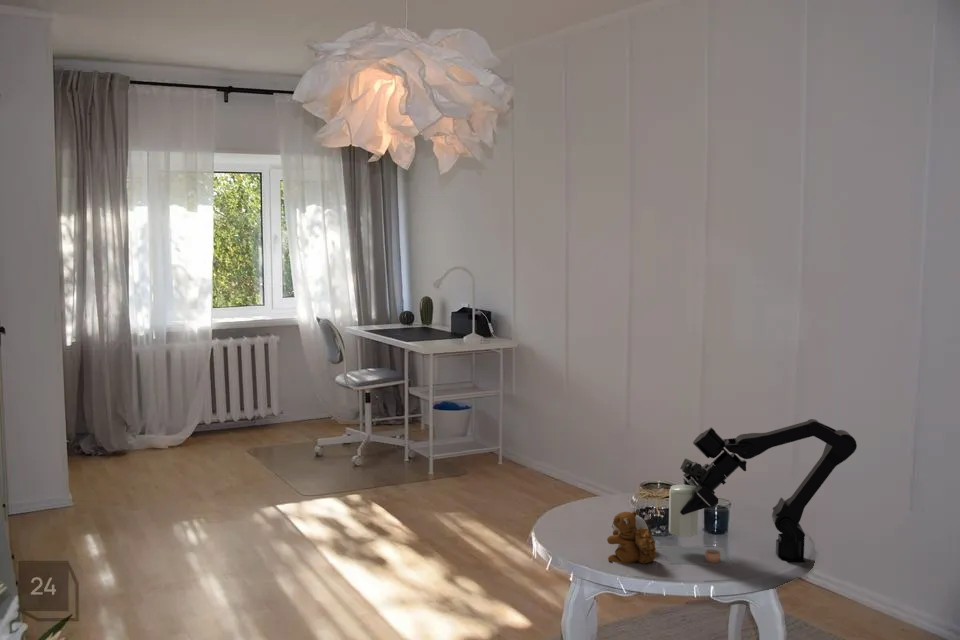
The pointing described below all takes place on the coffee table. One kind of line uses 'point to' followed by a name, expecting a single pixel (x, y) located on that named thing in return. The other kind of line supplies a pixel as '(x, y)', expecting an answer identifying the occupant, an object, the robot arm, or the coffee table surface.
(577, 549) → the coffee table surface
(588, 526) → the coffee table surface
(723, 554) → the slate mat
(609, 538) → the stuffed squirrel
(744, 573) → the coffee table surface
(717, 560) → the pinch bowl
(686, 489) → the pale green faceted cylinder
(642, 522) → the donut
